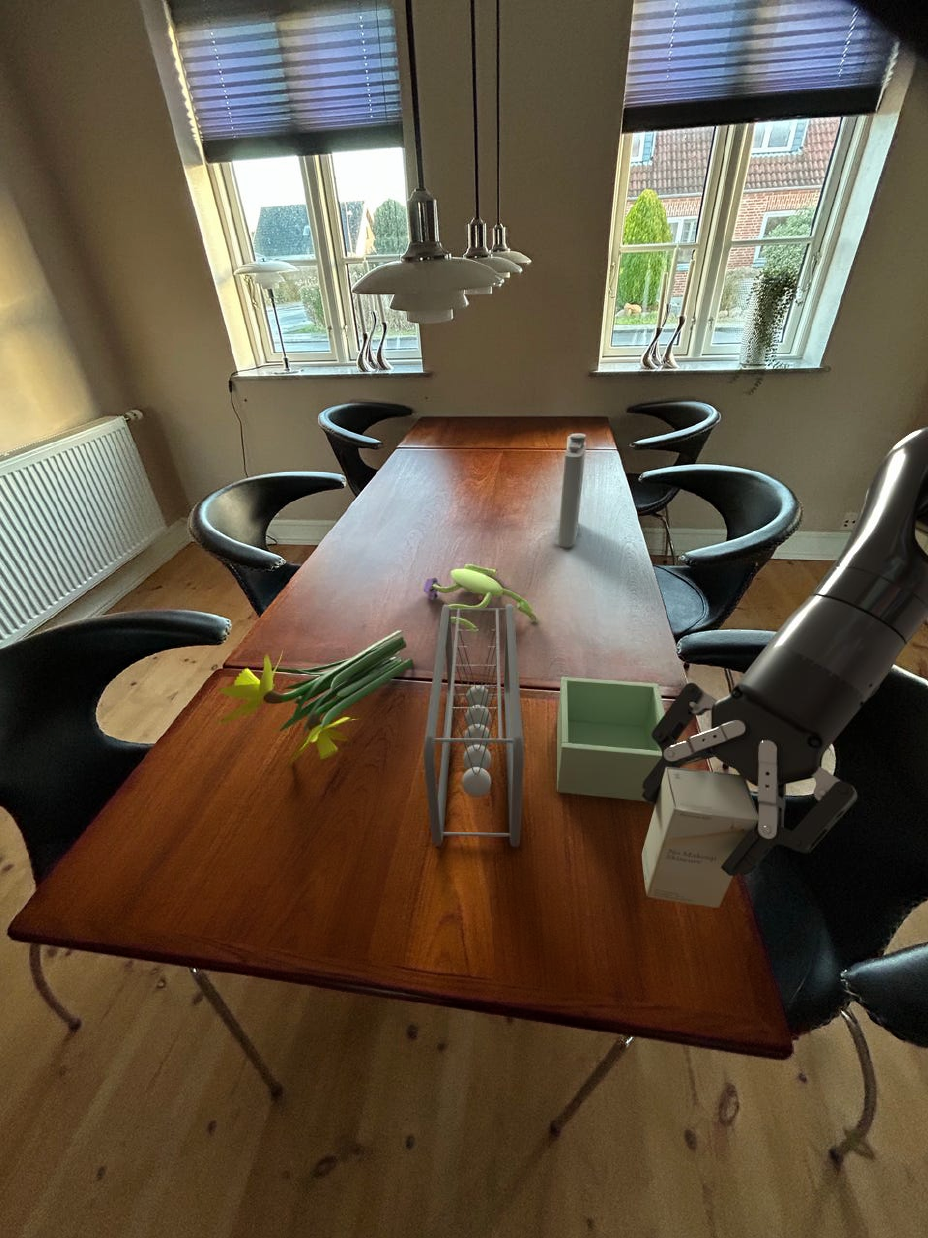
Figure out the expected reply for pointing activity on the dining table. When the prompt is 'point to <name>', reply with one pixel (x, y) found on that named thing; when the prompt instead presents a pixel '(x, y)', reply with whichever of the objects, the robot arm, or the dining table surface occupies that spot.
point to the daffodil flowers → (322, 690)
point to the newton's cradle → (475, 727)
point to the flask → (571, 489)
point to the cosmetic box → (695, 835)
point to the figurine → (475, 591)
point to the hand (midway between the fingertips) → (686, 834)
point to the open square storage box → (607, 737)
